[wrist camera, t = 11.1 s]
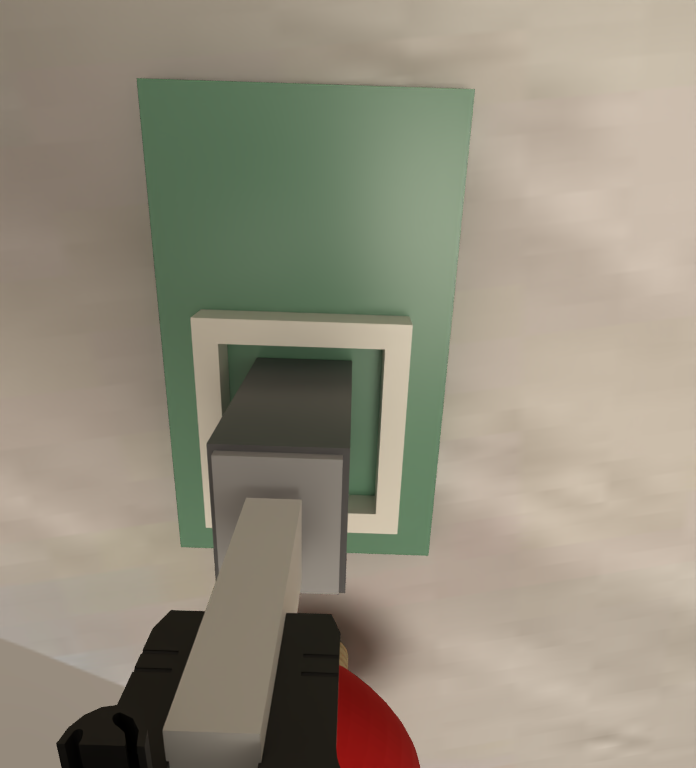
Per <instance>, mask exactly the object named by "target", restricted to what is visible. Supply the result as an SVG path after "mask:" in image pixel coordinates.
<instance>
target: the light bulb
mask: <svg viewBox="0 0 696 768" xmlns="http://www.w3.org/2000/svg"><path fill="white" fill-rule="evenodd" d="M336 749H337V759H338V762H339V765H340V768H420V764H419V760H418V757H417V753H416V750H415V747H414V745H413V742H412V740H411V738H410V737H409V735H408V733H407V731H406V729H405V728H404V726H403V724H402V722H401V721H400V719H399V718H398V717H397V716H396V714H395V713H394V712H393V711H392V709H391V708H390V707H389V706H388V704H387V703H386V702H385V701H384V700H383V699H382V698H381V697H380V696H379V695H378V694H377V693H376V692H375V691H374V690H373V689H372V688H371V687H369V686H368V685H367V684H366V683H364V682H363V681H362V680H361V679H360V678H358V677H357V676H356V675H354V674H353V673H351V672H350V671H349V670H348V653H347V650H346V648H345V646H344V645H343V644H342V643H341V642H340V658H339V688H338V716H337V744H336Z"/></svg>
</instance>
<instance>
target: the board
mask: <svg viewBox="0 0 696 768" xmlns="http://www.w3.org/2000/svg"><path fill="white" fill-rule="evenodd" d="M137 87H138V98H139V108H140V119H141V130H142V140H143V151H144V161H145V172H146V182H147V193H148V204H149V214H150V225H151V235H152V246H153V257H154V267H155V278H156V288H157V299H158V309H159V320H160V331H161V341H162V352H163V362H164V373H165V384H166V394H167V405H168V415H169V426H170V436H171V447H172V458H173V468H174V479H175V489H176V500H177V511H178V521H179V532H180V542H181V547H195V548H214V547H213V533H212V518H211V504H210V489H209V475H208V460H207V446H206V443H207V442H208V440H209V438H210V437H211V435H212V433H213V432H214V430H215V428H216V426H217V425H218V423H219V421H220V420H221V418H222V416H223V415H224V413H225V411H226V409H227V408H228V406H229V404H230V403H231V401H232V399H233V398H234V396H235V394H236V392H237V391H238V389H239V387H240V386H241V384H242V382H243V381H244V379H245V377H246V375H247V374H248V372H249V370H250V369H251V367H252V365H253V364H254V362H255V360H256V358H283V359H313V360H343V361H352V397H351V440H350V471H349V499H348V527H347V553H367V554H396V555H425V556H428V553H429V543H430V533H431V523H432V513H433V503H434V493H435V483H436V473H437V463H438V453H439V443H440V433H441V423H442V413H443V403H444V393H445V383H446V373H447V363H448V353H449V343H450V333H451V323H452V313H453V303H454V293H455V283H456V273H457V263H458V253H459V243H460V233H461V223H462V213H463V203H464V194H465V184H466V174H467V164H468V154H469V144H470V134H471V124H472V114H473V104H474V94H475V89H456V88H425V87H393V86H362V85H331V84H299V83H268V82H236V81H205V80H173V79H142V78H137Z"/></svg>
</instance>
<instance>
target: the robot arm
mask: <svg viewBox="0 0 696 768" xmlns="http://www.w3.org/2000/svg"><path fill="white" fill-rule="evenodd" d="M301 583H302V500H299V499H270V498H246V500H245V502H244V505H243V508H242V511H241V513H240V516H239V519H238V522H237V525H236V527H235V530H234V533H233V536H232V538H231V541H230V544H229V547H228V550H227V552H226V555H225V558H224V561H223V563H222V566H221V569H220V572H219V575H218V577H217V580H216V583H215V586H214V588H213V591H212V594H211V597H210V600H209V602H208V605H207V608H206V611H178V610H171V611H170V612H169V613H168V614H167V615H166V616H165V617H164V618H163V619H162V620H161V621H160V622H159V623H158V624H157V625H156V626H155V627H154V628H153V629H152V631H151V633H150V635H149V638H148V640H147V642H146V644H145V646H144V648H143V653H142V654H141V655H140V657H139V659H138V661H137V663H136V666H135V670H134V672H132V674H131V676H130V678H129V681H128V683H127V685H126V687H125V689H124V691H123V693H122V696H121V698H120V700H119V702H118V704H117V705H115V706H107V707H101V708H99V709H97V710H94V711H92V712H90V713H88V714H85V715H84V716H82V717H81V718H80V719H79V720H77V721H76V722H75V723H74V724H72V725H71V726H70V727H69V728H68V729H67V730H66V731H65V733H64V734H63V735H62V737H61V738H60V740H59V741H58V742H57V743H56V744H57V749H58V753H59V758H60V762H61V767H62V768H340V765H339V762H338V759H337V749H336V744H337V716H338V688H339V658H340V632H339V629H338V627H337V625H336V623H335V621H334V619H333V617H332V614H306V613H297V611H298V604H299V597H300V590H301Z"/></svg>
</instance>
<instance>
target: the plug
mask: <svg viewBox="0 0 696 768" xmlns="http://www.w3.org/2000/svg"><path fill="white" fill-rule="evenodd" d="M351 397H352V361H343V360H313V359H283V358H256V360H255V362H254V364H253V365H252V367H251V369H250V370H249V372H248V374H247V375H246V377H245V379H244V381H243V382H242V384H241V386H240V387H239V389H238V391H237V392H236V394H235V396H234V398H233V399H232V401H231V403H230V404H229V406H228V408H227V409H226V411H225V413H224V415H223V416H222V418H221V420H220V421H219V423H218V425H217V426H216V428H215V430H214V432H213V433H212V435H211V437H210V438H209V440H208V442H207V443H206V446H207V460H208V475H209V489H210V504H211V518H212V533H213V547H214V562H215V576H216V580H217V577H218V575H219V572H220V569H221V566H222V563H223V561H224V558H225V555H226V552H227V550H228V547H229V544H230V541H231V538H232V536H233V533H234V530H235V527H236V525H237V522H238V519H239V516H240V513H241V511H242V508H243V505H244V502H245V500H246V498H270V499H299V500H302V583H301V590H300V593H308V594H336V595H339V593H345V583H346V555H347V527H348V499H349V471H350V440H351Z"/></svg>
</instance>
